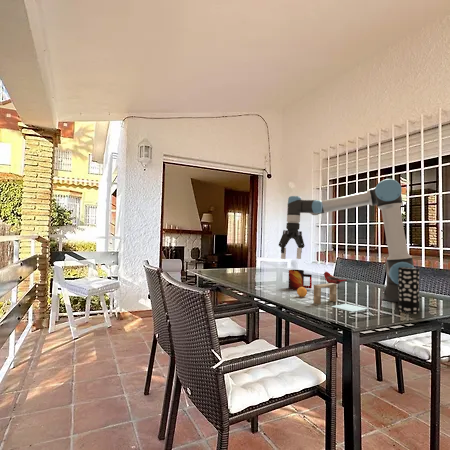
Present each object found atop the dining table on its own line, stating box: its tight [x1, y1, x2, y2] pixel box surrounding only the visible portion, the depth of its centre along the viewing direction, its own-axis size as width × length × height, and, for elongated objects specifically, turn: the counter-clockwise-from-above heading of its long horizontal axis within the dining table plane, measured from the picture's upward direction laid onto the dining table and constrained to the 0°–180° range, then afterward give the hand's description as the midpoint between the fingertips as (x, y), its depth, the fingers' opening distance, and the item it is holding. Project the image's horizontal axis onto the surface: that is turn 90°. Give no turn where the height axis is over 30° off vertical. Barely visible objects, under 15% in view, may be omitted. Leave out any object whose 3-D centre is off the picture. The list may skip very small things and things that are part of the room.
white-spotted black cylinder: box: [397, 267, 420, 315], centre depth 141 cm, size 8×8×20 cm
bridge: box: [313, 282, 338, 305], centre depth 158 cm, size 3×14×9 cm, turn 123°
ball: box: [296, 287, 308, 298], centre depth 171 cm, size 6×6×6 cm
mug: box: [288, 269, 313, 291], centre depth 198 cm, size 10×14×12 cm
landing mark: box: [330, 303, 368, 313], centre depth 146 cm, size 12×12×1 cm
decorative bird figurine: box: [323, 271, 347, 285], centre depth 207 cm, size 3×18×10 cm, turn 42°
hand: (291, 258), depth 178 cm, fingers open, 13 cm apart
